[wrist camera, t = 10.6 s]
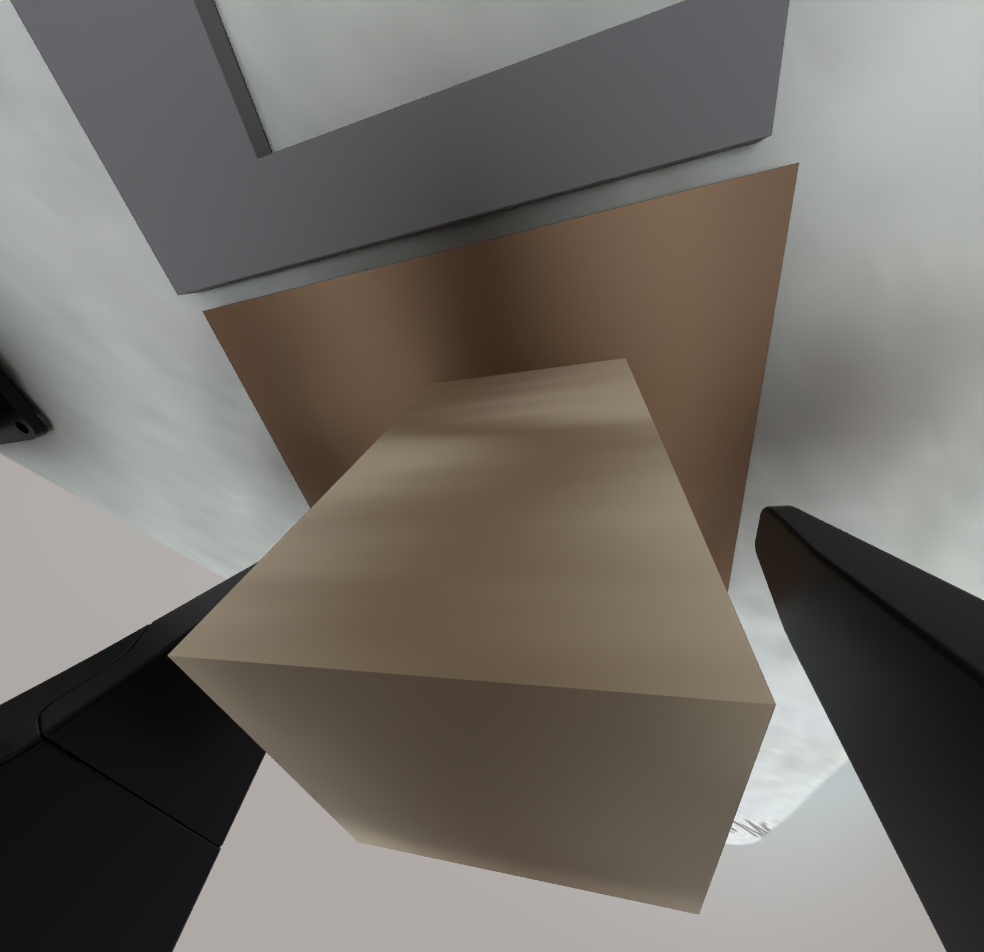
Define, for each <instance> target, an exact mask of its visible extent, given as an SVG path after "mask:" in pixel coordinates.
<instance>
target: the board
mask: <svg viewBox="0 0 984 952" xmlns="http://www.w3.org/2000/svg"><path fill="white" fill-rule="evenodd" d="M798 166H799V163H795V164H791V165H787V166H783V167H779V168H775V169H771V170H767V171H763V172H759V173H755V174H751V175H747V176H743V177H739V178H735V179H731V180H727V181H723V182H719V183H715V184H711V185H707V186H703V187H699V188H695V189H691V190H687V191H683V192H679V193H675V194H671V195H667V196H663V197H659V198H655V199H651V200H647V201H643V202H639V203H635V204H631V205H627V206H623V207H619V208H615V209H611V210H606V211H602V212H598V213H594V214H590V215H586V216H582V217H578V218H574V219H570V220H566V221H562V222H558V223H554V224H550V225H546V226H542V227H538V228H534V229H530V230H526V231H522V232H518V233H514V234H510V235H506V236H502V237H498V238H494V239H490V240H486V241H482V242H478V243H474V244H470V245H466V246H462V247H458V248H454V249H450V250H446V251H442V252H438V253H434V254H430V255H426V256H422V257H418V258H414V259H410V260H406V261H402V262H398V263H394V264H390V265H386V266H382V267H378V268H374V269H370V270H366V271H362V272H358V273H354V274H350V275H346V276H341V277H337V278H333V279H329V280H325V281H321V282H317V283H313V284H309V285H305V286H301V287H297V288H293V289H289V290H285V291H281V292H277V293H273V294H269V295H265V296H261V297H257V298H253V299H249V300H245V301H241V302H237V303H233V304H229V305H225V306H221V307H217V308H213V309H209V310H205V311H203V313H204V315H205V317H206V319H207V320H208V322H209V324H210V326H211V328H212V330H213V331H214V333H215V335H216V337H217V339H218V341H219V342H220V344H221V346H222V348H223V350H224V351H225V353H226V355H227V357H228V359H229V361H230V362H231V364H232V366H233V368H234V370H235V371H236V373H237V375H238V377H239V379H240V381H241V382H242V384H243V386H244V388H245V390H246V392H247V393H248V395H249V397H250V399H251V401H252V402H253V404H254V406H255V408H256V410H257V412H258V413H259V415H260V417H261V419H262V421H263V422H264V424H265V426H266V428H267V430H268V432H269V433H270V435H271V437H272V439H273V441H274V443H275V444H276V446H277V448H278V450H279V452H280V453H281V455H282V457H283V459H284V461H285V463H286V464H287V466H288V468H289V470H290V472H291V473H292V475H293V477H294V479H295V481H296V483H297V484H298V486H299V488H300V490H301V492H302V494H303V495H304V497H305V499H306V501H307V503H308V504H309V506H310V508H312V507H313V506H314V505H315V504H316V503H317V502H318V501H319V500H320V498H321V497H322V496H323V495H324V494H325V493H326V492H327V491H328V490H329V489H330V488H331V487H332V486H333V485H334V484H335V483H336V482H337V481H338V480H339V479H340V478H341V477H342V476H343V475H344V474H345V473H346V472H347V471H348V470H349V469H350V468H351V467H352V466H353V465H354V464H355V463H356V462H357V461H358V459H359V458H360V457H361V456H362V455H363V454H364V453H365V452H366V451H367V450H368V449H369V448H370V447H371V446H372V445H373V444H374V443H375V442H376V441H377V440H378V439H379V438H380V437H381V436H382V435H383V434H384V433H385V432H386V431H387V430H388V429H389V428H390V427H391V426H392V425H393V424H394V423H395V422H396V420H397V419H398V418H399V417H400V416H401V415H402V414H403V413H404V412H405V411H406V410H407V409H408V408H409V407H410V406H411V405H412V404H413V403H414V402H415V401H416V400H417V399H418V398H419V397H420V396H421V395H422V394H423V393H424V392H425V391H426V390H427V389H428V388H429V387H430V386H431V385H432V384H434V383H442V382H449V381H457V380H464V379H472V378H479V377H487V376H494V375H502V374H509V373H517V372H524V371H532V370H539V369H547V368H554V367H562V366H569V365H577V364H585V363H592V362H600V361H607V360H615V359H622V358H626V360H627V363H628V365H629V367H630V369H631V372H632V374H633V376H634V379H635V381H636V383H637V386H638V388H639V390H640V392H641V395H642V397H643V399H644V402H645V404H646V406H647V409H648V411H649V413H650V416H651V418H652V420H653V422H654V425H655V427H656V429H657V432H658V434H659V436H660V439H661V441H662V443H663V445H664V448H665V450H666V452H667V455H668V457H669V459H670V462H671V464H672V466H673V469H674V471H675V473H676V475H677V478H678V480H679V482H680V485H681V487H682V489H683V492H684V494H685V496H686V498H687V501H688V503H689V505H690V508H691V510H692V512H693V515H694V517H695V519H696V522H697V524H698V526H699V528H700V531H701V533H702V535H703V538H704V540H705V542H706V545H707V547H708V549H709V551H710V554H711V556H712V558H713V561H714V563H715V565H716V568H717V570H718V572H719V574H720V577H721V579H722V581H723V584H724V586H725V588H726V591H727V593H728V587H729V581H730V575H731V569H732V563H733V557H734V551H735V545H736V539H737V533H738V527H739V521H740V515H741V509H742V503H743V497H744V491H745V485H746V479H747V473H748V467H749V461H750V455H751V449H752V443H753V437H754V431H755V425H756V419H757V413H758V407H759V401H760V395H761V389H762V383H763V377H764V371H765V365H766V359H767V353H768V347H769V341H770V334H771V328H772V322H773V316H774V310H775V304H776V298H777V292H778V286H779V280H780V274H781V268H782V262H783V256H784V250H785V244H786V238H787V232H788V226H789V220H790V214H791V208H792V202H793V196H794V190H795V184H796V178H797V172H798Z"/></svg>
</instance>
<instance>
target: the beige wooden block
mask: <svg viewBox="0 0 984 952" xmlns="http://www.w3.org/2000/svg"><path fill="white" fill-rule="evenodd" d="M167 656H168V657H169V658H170V659H171V660H173V661H174V662H175V663H176V664H177V665H178V666H179V667H180V668H181V669H182V670H183V671H184V672H185V673H186V674H187V675H188V676H189V677H190V678H191V679H192V680H193V681H194V682H195V683H196V684H197V685H198V686H199V687H200V688H201V689H202V690H203V691H204V692H205V693H206V694H207V695H208V696H209V697H210V698H211V699H212V700H213V701H214V702H215V703H216V704H217V705H218V706H220V707H221V708H222V709H223V710H224V711H225V712H226V713H227V714H228V715H229V716H230V717H231V718H232V719H233V720H234V721H235V722H236V723H237V724H238V725H239V726H240V727H241V728H242V729H243V730H244V731H245V732H246V733H247V734H248V735H249V736H250V737H251V738H252V739H253V740H254V741H255V742H256V743H257V744H258V745H259V746H260V747H261V748H262V749H263V750H264V751H266V752H267V753H268V754H269V755H270V756H271V757H272V758H273V759H274V760H275V761H276V762H277V763H278V764H279V765H280V766H281V767H282V768H283V769H284V770H285V771H286V772H287V773H288V774H289V775H290V776H291V777H292V778H293V779H294V780H295V781H296V782H297V783H298V784H299V785H300V786H301V787H302V788H303V789H304V790H305V791H306V792H307V793H309V794H310V796H312V797H313V798H314V799H315V800H316V801H317V802H318V803H319V804H320V805H321V806H322V807H323V808H324V809H325V810H326V811H327V812H328V813H329V814H330V815H331V816H332V817H333V818H334V819H335V820H336V821H337V822H338V823H339V824H340V825H341V826H342V827H343V828H344V829H345V830H346V831H347V832H348V833H349V834H350V835H351V836H353V838H354V839H355V840H357V841H358V842H360V843H365V844H369V845H374V846H379V847H383V848H388V849H393V850H397V851H402V852H407V853H412V854H416V855H421V856H426V857H430V858H435V859H440V860H445V861H450V862H454V863H459V864H464V865H468V866H473V867H478V868H482V869H487V870H492V871H496V872H501V873H506V874H511V875H515V876H520V877H525V878H529V879H534V880H539V881H544V882H548V883H553V884H558V885H562V886H567V887H572V888H577V889H582V890H586V891H590V892H595V893H600V894H605V895H609V896H614V897H619V898H624V899H628V900H633V901H638V902H643V903H647V904H652V905H656V906H662V907H666V908H671V909H676V910H680V911H685V912H689V913H694V914H699V913H700V910H701V907H702V904H703V902H704V899H705V896H706V893H707V891H708V888H709V886H710V883H711V880H712V877H713V875H714V872H715V869H716V867H717V864H718V861H719V858H720V856H721V853H722V850H723V847H724V845H725V842H726V839H727V837H728V834H729V831H730V828H731V826H732V823H733V820H734V818H735V815H736V812H737V809H738V807H739V804H740V801H741V798H742V796H743V793H744V790H745V788H746V785H747V782H748V779H749V777H750V774H751V771H752V769H753V766H754V763H755V760H756V758H757V755H758V752H759V749H760V747H761V744H762V741H763V739H764V736H765V733H766V730H767V728H768V725H769V722H770V720H771V717H772V714H773V711H774V709H775V706H776V704H775V701H774V699H773V697H772V694H771V692H770V690H769V687H768V685H767V683H766V680H765V678H764V676H763V674H762V671H761V669H760V667H759V664H758V662H757V660H756V657H755V655H754V653H753V651H752V648H751V646H750V644H749V641H748V639H747V637H746V634H745V632H744V630H743V627H742V625H741V623H740V621H739V618H738V616H737V614H736V611H735V609H734V607H733V604H732V602H731V600H730V598H729V595H728V593H727V591H726V588H725V586H724V584H723V581H722V579H721V577H720V574H719V572H718V570H717V568H716V565H715V563H714V561H713V558H712V556H711V554H710V551H709V549H708V547H707V545H706V542H705V540H704V538H703V535H702V533H701V531H700V528H699V526H698V524H697V522H696V519H695V517H694V515H693V512H692V510H691V508H690V505H689V503H688V501H687V498H686V496H685V494H684V492H683V489H682V487H681V485H680V482H679V480H678V478H677V475H676V473H675V471H674V469H673V466H672V464H671V462H670V459H669V457H668V455H667V452H666V450H665V448H664V445H663V443H662V441H661V439H660V436H659V434H658V432H657V429H656V427H655V425H654V422H653V420H652V418H651V416H650V413H649V411H648V409H647V406H646V404H645V402H644V399H643V397H642V395H641V392H640V390H639V388H638V386H637V383H636V381H635V379H634V376H633V374H632V372H631V369H630V367H629V365H628V363H627V360H626V358H622V359H615V360H607V361H600V362H592V363H585V364H577V365H569V366H562V367H554V368H547V369H539V370H532V371H524V372H517V373H509V374H502V375H494V376H487V377H479V378H472V379H464V380H457V381H449V382H442V383H434V384H432V385H431V386H430V387H429V388H428V389H427V390H426V391H425V392H424V393H423V394H422V395H421V396H420V397H419V398H418V399H417V400H416V401H415V402H414V403H413V404H412V405H411V406H410V407H409V408H408V409H407V410H406V411H405V412H404V413H403V414H402V415H401V416H400V417H399V418H398V419H397V420H396V422H395V423H394V424H393V425H392V426H391V427H390V428H389V429H388V430H387V431H386V432H385V433H384V434H383V435H382V436H381V437H380V438H379V439H378V440H377V441H376V442H375V443H374V444H373V445H372V446H371V447H370V448H369V449H368V450H367V451H366V452H365V453H364V454H363V455H362V456H361V457H360V458H359V459H358V461H357V462H356V463H355V464H354V465H353V466H352V467H351V468H350V469H349V470H348V471H347V472H346V473H345V474H344V475H343V476H342V477H341V478H340V479H339V480H338V481H337V482H336V483H335V484H334V485H333V486H332V487H331V488H330V489H329V490H328V491H327V492H326V493H325V494H324V495H323V496H322V497H321V498H320V500H319V501H318V502H317V503H316V504H315V505H314V506H313V507H312V508H311V509H310V510H309V511H308V512H307V513H306V514H305V515H304V516H303V517H302V518H301V519H300V520H299V521H298V522H297V523H296V524H295V525H294V526H293V527H292V528H291V529H290V530H289V531H288V532H287V533H286V534H285V535H284V536H283V537H282V539H281V540H280V541H279V542H278V543H277V544H276V545H275V546H274V547H273V548H272V549H271V550H270V551H269V552H268V553H267V554H266V555H265V556H264V557H263V558H262V559H261V560H260V561H259V562H258V563H257V564H256V565H255V566H254V567H253V568H252V569H251V570H250V571H249V572H248V573H247V574H246V575H245V576H244V577H243V579H242V580H241V581H240V582H239V583H238V584H237V585H236V586H235V587H234V588H233V589H232V590H231V591H230V592H229V593H228V594H227V595H226V596H225V597H224V598H223V599H222V600H221V601H220V602H219V603H218V604H217V605H216V606H215V607H214V608H213V609H212V610H211V611H210V612H209V613H208V614H207V615H206V616H205V618H204V619H203V620H202V621H201V622H200V623H199V624H198V625H197V626H196V627H195V628H194V629H193V630H192V631H191V632H190V633H189V634H188V635H187V636H186V637H185V638H184V639H183V640H182V641H181V642H180V643H179V644H178V645H177V646H176V647H175V648H174V649H173V650H172V651H171V652H170V653H169V654H168V655H167Z"/></svg>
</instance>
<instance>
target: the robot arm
mask: <svg viewBox="0 0 984 952" xmlns="http://www.w3.org/2000/svg"><path fill="white" fill-rule="evenodd" d="M47 432H48V430H47V427H46V425H45V424H44V422H43V421H42V420H41V419H40V418H39V417H38V415H37V414H36V413H35V412H34V411H33V410H32V409H31V407H30V406H29V405H28V404H27V403H26V402H25V400H24V399H23V398H22V397H21V396H20V395H19V394H18V392H17V391H16V390H15V389H14V388H13V387H12V385H11V384H10V383H9V382H8V381H7V380H6V379H5V377H4V376H3V375H2V374H1V373H0V444H6V443H12V442H19V441H25V440H31V439H35V438H38V437H40V436H43V435H45V434H47ZM755 549H756V554H757V557H758V559H759V562H760V565H761V568H762V570H763V573H764V576H765V579H766V581H767V584H768V587H769V590H770V592H771V595H772V598H773V601H774V603H775V606H776V609H777V612H778V614H779V617H780V620H781V622H782V625H783V627H784V630H785V632H786V634H787V636H788V639H789V641H790V643H791V645H792V647H793V649H794V651H795V653H796V655H797V657H798V659H799V661H800V663H801V665H802V667H803V669H804V671H805V673H806V675H807V677H808V679H809V681H810V682H811V684H812V686H813V688H814V690H815V692H816V694H817V696H818V698H819V700H820V702H821V704H822V706H823V708H824V710H825V712H826V714H827V716H828V718H829V720H830V722H831V724H832V726H833V728H834V730H835V732H836V734H837V736H838V738H839V740H840V742H841V744H842V746H843V748H844V750H845V752H846V754H847V756H848V758H849V760H850V762H851V764H852V766H853V768H854V770H855V772H856V774H857V775H858V777H859V779H860V781H861V783H862V785H863V787H864V789H865V791H866V793H867V795H868V797H869V799H870V801H871V803H872V805H873V807H874V809H875V811H876V813H877V815H878V817H879V819H880V821H881V823H882V825H883V827H884V829H885V831H886V833H887V835H888V837H889V839H890V841H891V843H892V845H893V847H894V849H895V851H896V853H897V854H898V857H899V859H900V861H901V863H902V864H903V867H904V868H905V870H906V872H907V874H908V876H909V878H910V880H911V882H912V884H913V886H914V888H915V890H916V892H917V894H918V896H919V898H920V900H921V902H922V904H923V906H924V908H925V910H926V912H927V914H928V916H929V918H930V920H931V922H932V924H933V926H934V928H935V930H936V932H937V934H938V936H939V938H940V940H941V942H942V944H943V945H944V948H945V950H946V952H984V600H982V599H980V598H978V597H976V596H974V595H972V594H970V593H968V592H966V591H964V590H962V589H960V588H958V587H956V586H954V585H952V584H950V583H948V582H946V581H944V580H941V579H939V578H937V577H935V576H933V575H931V574H929V573H927V572H925V571H923V570H921V569H919V568H917V567H915V566H913V565H911V564H909V563H907V562H905V561H903V560H901V559H899V558H897V557H895V556H893V555H891V554H889V553H887V552H885V551H883V550H881V549H879V548H877V547H875V546H873V545H870V544H868V543H866V542H864V541H862V540H860V539H858V538H856V537H854V536H852V535H850V534H848V533H846V532H844V531H842V530H840V529H838V528H836V527H834V526H832V525H830V524H828V523H826V522H824V521H822V520H820V519H818V518H816V517H814V516H812V515H810V514H808V513H806V512H804V511H802V510H800V509H797V508H795V507H793V506H768V507H766V508H764V509H763V510H762V512H761V515H760V520H759V525H758V530H757V535H756V540H755ZM257 563H258V562H257ZM257 563H255V564H253V565H252V566H250V567H248V568H246V569H245V570H243V571H241V572H239V573H238V574H236V575H234V576H232V577H231V578H229V579H227V580H225V581H224V582H222V583H220V584H218V585H217V586H215V587H213V588H211V589H210V590H208V591H206V592H204V593H203V594H201V595H199V596H197V597H196V598H194V599H192V600H190V601H189V602H187V603H185V604H183V605H182V606H180V607H178V608H176V609H175V610H173V611H171V612H169V613H167V614H166V615H164V616H162V617H160V618H159V619H157V620H155V621H154V622H152V624H151V625H146V626H145V627H143V628H141V629H139V630H138V631H136V632H134V633H132V634H131V635H129V636H127V637H125V638H123V639H122V640H120V641H118V642H116V643H115V644H113V645H111V646H109V647H107V648H106V649H104V650H102V651H100V652H98V653H97V654H95V655H93V656H91V657H89V658H88V659H86V660H84V661H82V662H80V663H78V664H76V665H74V666H72V667H71V668H69V669H67V670H65V671H63V672H61V673H60V674H58V675H56V676H54V677H52V678H50V679H48V680H46V681H44V682H43V683H41V684H39V685H37V686H35V687H33V688H31V689H29V690H28V691H25V692H23V693H22V694H20V695H18V696H16V697H14V698H12V699H10V700H8V701H7V702H5V703H3V704H1V705H0V952H173V949H174V948H175V945H176V943H177V941H178V939H179V937H180V935H181V933H182V931H183V928H184V926H185V924H186V922H187V920H188V918H189V916H190V914H191V911H192V909H193V907H194V905H195V903H196V901H197V899H198V896H199V894H200V892H201V890H202V888H203V886H204V884H205V882H206V879H207V877H208V875H209V873H210V871H211V869H212V867H213V864H214V862H215V860H216V858H217V856H218V854H219V852H220V849H221V848H220V847H221V846H222V845H223V843H224V840H225V838H226V836H227V834H228V832H229V830H230V828H231V826H232V823H233V821H234V819H235V817H236V815H237V813H238V811H239V809H240V806H241V804H242V802H243V800H244V798H245V796H246V794H247V792H248V789H249V787H250V785H251V783H252V781H253V779H254V777H255V775H256V773H257V770H258V768H259V766H260V764H261V762H262V760H263V758H264V756H265V753H266V751H264V750H263V749H262V748H261V747H260V746H259V745H258V744H257V743H256V742H255V741H254V740H253V739H252V738H251V737H250V736H249V735H248V734H247V733H246V732H245V731H244V730H243V729H242V728H241V727H240V726H239V725H238V724H237V723H236V722H235V721H234V720H233V719H232V718H231V717H230V716H229V715H228V714H227V713H226V712H225V711H224V710H223V709H222V708H221V707H220V706H218V705H217V704H216V703H215V702H214V701H213V700H212V699H211V698H210V697H209V696H208V695H207V694H206V693H205V692H204V691H203V690H202V689H201V688H200V687H199V686H198V685H197V684H196V683H195V682H194V681H193V680H192V679H191V678H190V677H189V676H188V675H187V674H186V673H185V672H184V671H183V670H182V669H181V668H180V667H179V666H178V665H177V664H176V663H175V662H174V661H173V660H171V659H170V658H169V657H168V656H167V655H168V654H169V653H170V652H171V651H172V650H173V649H174V648H175V647H176V646H177V645H178V644H179V643H180V642H181V641H182V640H183V639H184V638H185V637H186V636H187V635H188V634H189V633H190V632H191V631H192V630H193V629H194V628H195V627H196V626H197V625H198V624H199V623H200V622H201V621H202V620H203V619H204V618H205V616H206V615H207V614H208V613H209V612H210V611H211V610H212V609H213V608H214V607H215V606H216V605H217V604H218V603H219V602H220V601H221V600H222V599H223V598H224V597H225V596H226V595H227V594H228V593H229V592H230V591H231V590H232V589H233V588H234V587H235V586H236V585H237V584H238V583H239V582H240V581H241V580H242V579H243V577H244V576H245V575H246V574H247V573H248V572H249V571H250V570H251V569H252V568H253V567H254V566H255V565H256V564H257Z"/></svg>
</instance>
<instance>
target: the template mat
mask: <svg viewBox="0 0 984 952" xmlns="http://www.w3.org/2000/svg"><path fill="white" fill-rule="evenodd" d="M10 1H11V3H12V4H13V6H14V8H15V10H16V11H17V13H18V15H19V17H20V19H21V20H22V22H23V24H24V26H25V27H26V29H27V31H28V33H29V34H30V36H31V38H32V40H33V41H34V43H35V45H36V47H37V48H38V50H39V52H40V54H41V55H42V57H43V59H44V61H45V63H46V64H47V66H48V68H49V70H50V71H51V73H52V75H53V77H54V78H55V80H56V82H57V84H58V85H59V87H60V89H61V91H62V92H63V94H64V96H65V98H66V99H67V101H68V103H69V105H70V106H71V108H72V110H73V112H74V114H75V115H76V117H77V119H78V121H79V122H80V124H81V126H82V128H83V129H84V131H85V133H86V135H87V136H88V138H89V140H90V142H91V143H92V145H93V147H94V149H95V150H96V152H97V154H98V156H99V158H100V159H101V161H102V163H103V165H104V166H105V168H106V170H107V172H108V173H109V175H110V177H111V179H112V180H113V182H114V184H115V186H116V187H117V189H118V191H119V193H120V194H121V196H122V198H123V200H124V201H125V203H126V205H127V207H128V209H129V210H130V212H131V214H132V216H133V217H134V219H135V221H136V223H137V224H138V226H139V228H140V230H141V231H142V233H143V235H144V237H145V238H146V240H147V242H148V244H149V245H150V247H151V249H152V251H153V253H154V254H155V256H156V258H157V260H158V261H159V263H160V265H161V267H162V268H163V270H164V272H165V274H166V275H167V277H168V279H169V281H170V282H171V284H172V286H173V288H174V289H175V291H176V293H177V295H182V294H189V293H196V292H200V291H204V290H207V289H211V288H215V287H219V286H222V285H226V284H230V283H233V282H237V281H241V280H245V279H248V278H252V277H256V276H260V275H263V274H267V273H271V272H275V271H278V270H282V269H286V268H290V267H293V266H297V265H301V264H304V263H308V262H312V261H316V260H319V259H323V258H327V257H331V256H334V255H338V254H342V253H346V252H349V251H353V250H357V249H361V248H364V247H368V246H372V245H375V244H379V243H383V242H387V241H390V240H394V239H398V238H402V237H405V236H409V235H413V234H417V233H420V232H424V231H428V230H431V229H435V228H439V227H443V226H446V225H450V224H454V223H458V222H461V221H465V220H469V219H473V218H476V217H480V216H484V215H488V214H491V213H495V212H499V211H502V210H506V209H510V208H514V207H517V206H521V205H525V204H529V203H532V202H536V201H540V200H544V199H547V198H551V197H555V196H559V195H562V194H566V193H570V192H573V191H577V190H581V189H585V188H588V187H592V186H596V185H600V184H603V183H607V182H611V181H615V180H618V179H622V178H626V177H630V176H633V175H637V174H641V173H644V172H648V171H652V170H656V169H659V168H663V167H667V166H671V165H674V164H678V163H682V162H686V161H689V160H693V159H697V158H700V157H704V156H708V155H712V154H715V153H719V152H723V151H727V150H730V149H734V148H738V147H742V146H745V145H749V144H753V143H757V142H759V141H761V140H763V139H765V138H767V137H768V136H770V135H772V127H773V120H774V112H775V105H776V97H777V90H778V82H779V75H780V67H781V60H782V52H783V45H784V37H785V30H786V22H787V15H788V7H789V0H686V1H683V2H680V3H678V4H675V5H672V6H670V7H667V8H664V9H661V10H659V11H656V12H653V13H651V14H648V15H645V16H643V17H640V18H637V19H634V20H632V21H629V22H626V23H624V24H621V25H618V26H615V27H613V28H610V29H607V30H605V31H602V32H599V33H597V34H594V35H591V36H588V37H586V38H583V39H580V40H578V41H575V42H572V43H570V44H567V45H564V46H561V47H559V48H556V49H553V50H551V51H548V52H545V53H542V54H540V55H537V56H534V57H532V58H529V59H526V60H524V61H521V62H518V63H515V64H513V65H510V66H507V67H505V68H502V69H499V70H496V71H494V72H491V73H488V74H486V75H483V76H480V77H478V78H475V79H472V80H469V81H467V82H464V83H461V84H459V85H456V86H453V87H451V88H448V89H445V90H442V91H440V92H437V93H434V94H432V95H429V96H426V97H423V98H421V99H418V100H415V101H413V102H410V103H407V104H405V105H402V106H399V107H396V108H394V109H391V110H388V111H386V112H383V113H380V114H377V115H375V116H372V117H369V118H367V119H364V120H361V121H359V122H356V123H353V124H350V125H348V126H345V127H342V128H340V129H337V130H334V131H331V132H329V133H326V134H323V135H321V136H318V137H315V138H313V139H310V140H307V141H304V142H302V143H299V144H296V145H294V146H291V147H288V148H286V149H283V150H280V151H277V152H275V153H271V150H270V148H269V145H268V142H267V140H266V137H265V135H264V132H263V129H262V127H261V124H260V122H259V119H258V116H257V114H256V111H255V109H254V106H253V103H252V101H251V98H250V96H249V93H248V91H247V88H246V85H245V83H244V80H243V78H242V75H241V72H240V70H239V67H238V65H237V62H236V59H235V57H234V54H233V52H232V49H231V46H230V44H229V41H228V39H227V36H226V34H225V31H224V28H223V26H222V23H221V21H220V18H219V15H218V13H217V10H216V8H215V5H214V2H213V0H10Z"/></svg>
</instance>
